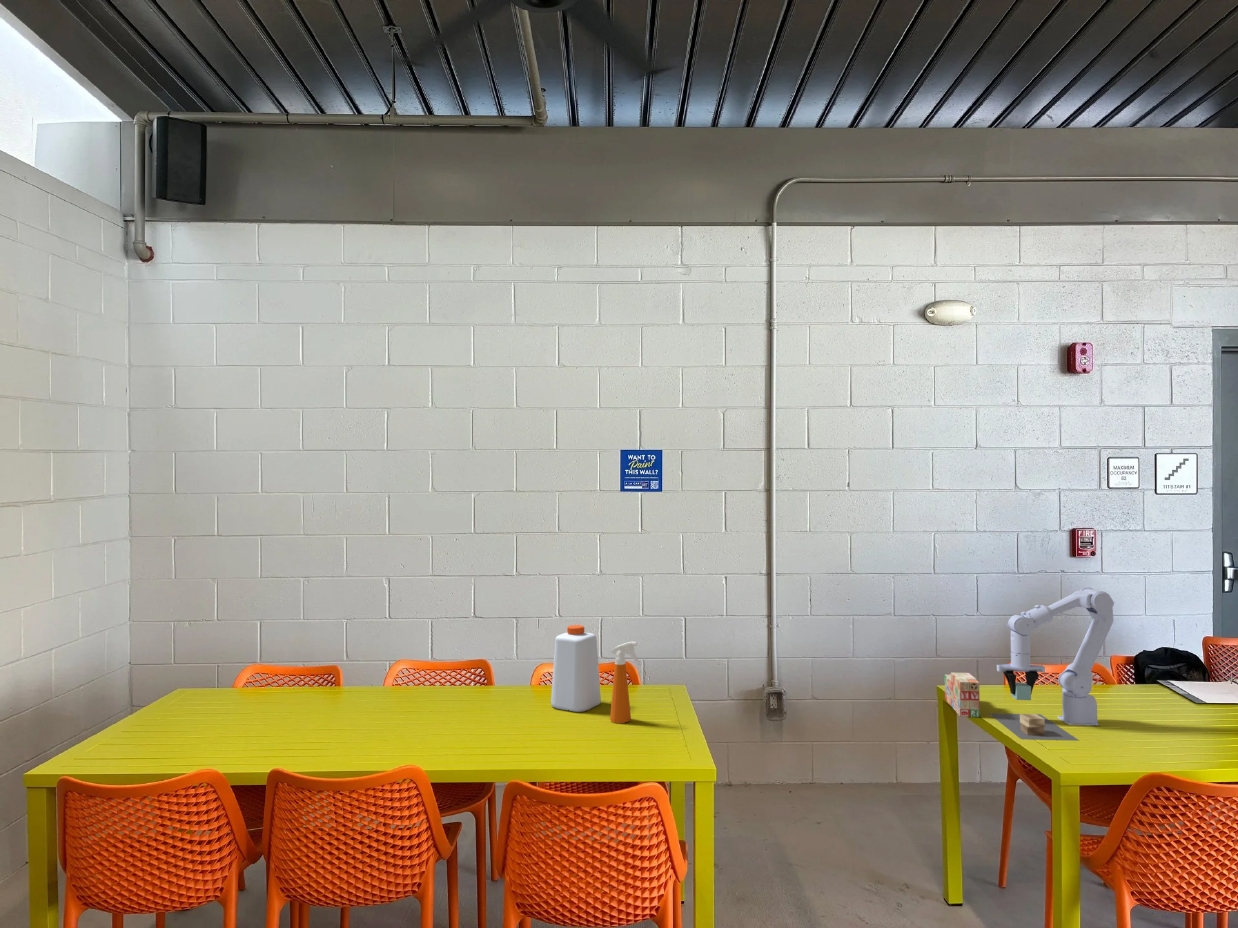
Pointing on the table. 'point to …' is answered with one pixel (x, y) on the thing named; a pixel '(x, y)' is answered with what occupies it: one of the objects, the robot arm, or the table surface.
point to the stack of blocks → (962, 693)
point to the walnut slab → (1032, 730)
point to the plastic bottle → (575, 671)
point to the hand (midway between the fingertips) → (1021, 693)
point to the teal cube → (1022, 691)
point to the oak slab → (1032, 720)
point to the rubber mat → (1049, 734)
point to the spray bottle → (621, 684)
